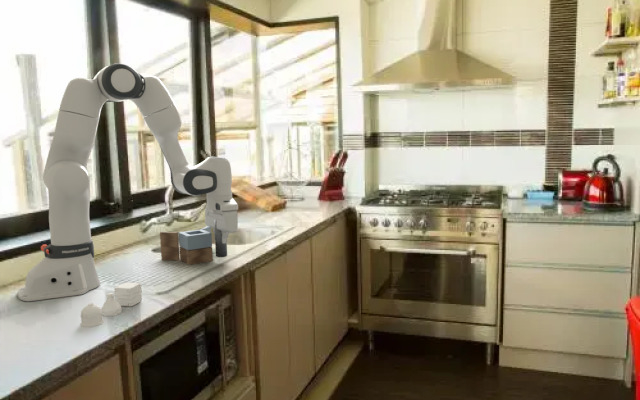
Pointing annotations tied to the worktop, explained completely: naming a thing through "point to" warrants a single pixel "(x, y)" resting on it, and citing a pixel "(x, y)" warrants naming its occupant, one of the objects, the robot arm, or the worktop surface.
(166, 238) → the hinge frame
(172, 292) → the worktop surface
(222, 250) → the dark grey tall bar
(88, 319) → the container set
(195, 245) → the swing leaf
